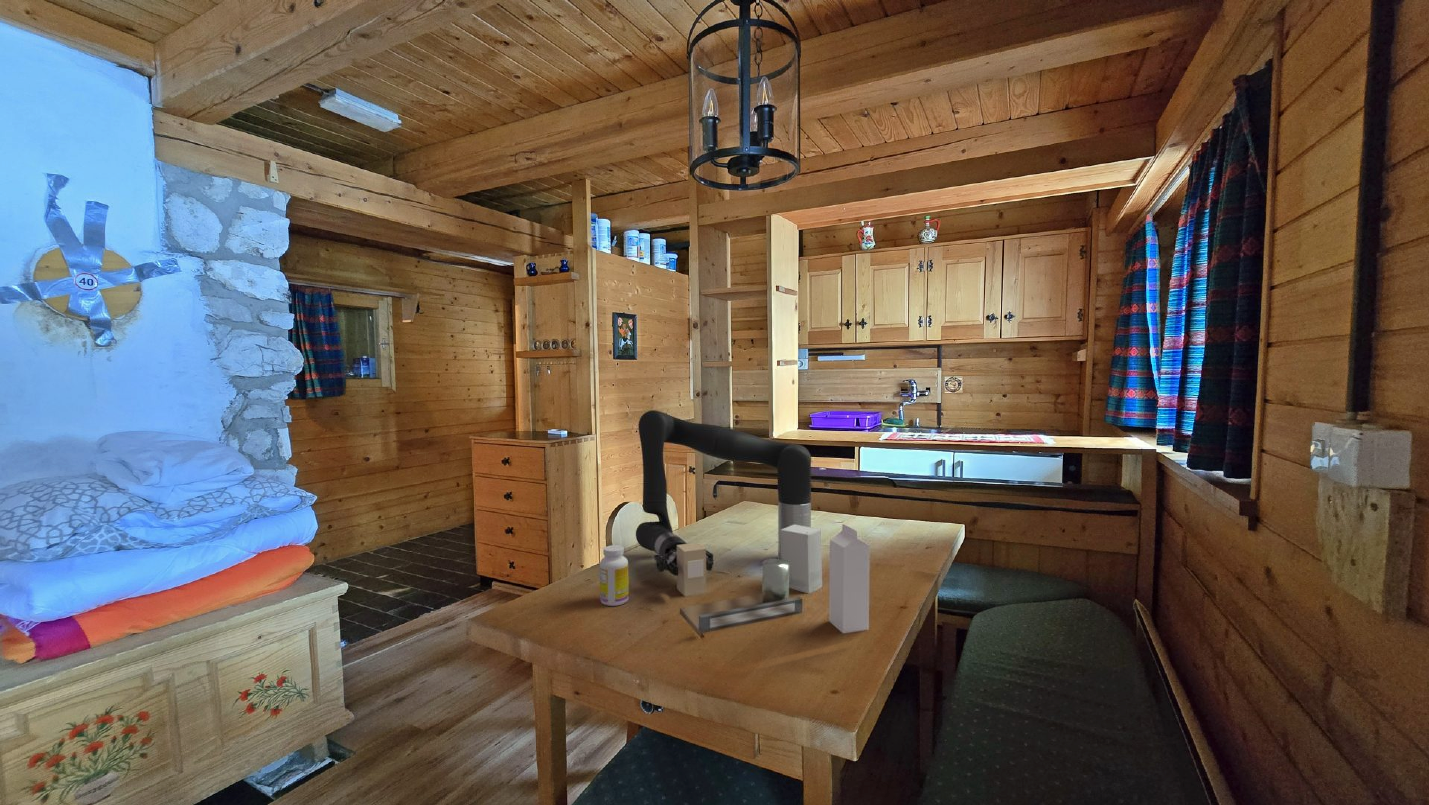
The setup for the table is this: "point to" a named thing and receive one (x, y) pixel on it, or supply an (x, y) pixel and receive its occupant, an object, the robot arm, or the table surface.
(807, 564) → the skincare box
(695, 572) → the kraft carton
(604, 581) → the supplement bottle
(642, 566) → the table surface
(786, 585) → the oat tin
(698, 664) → the table surface
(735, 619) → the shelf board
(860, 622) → the milk
